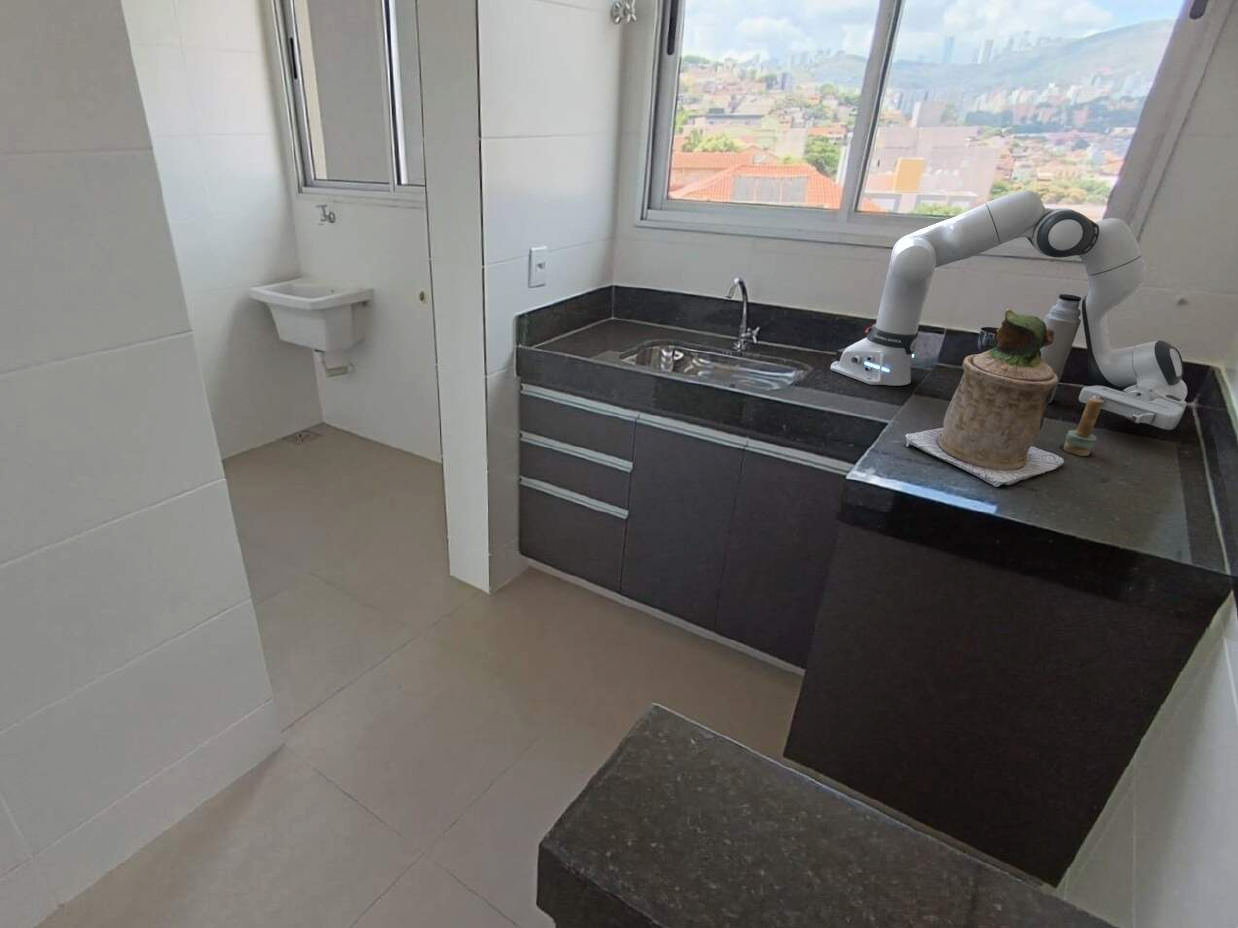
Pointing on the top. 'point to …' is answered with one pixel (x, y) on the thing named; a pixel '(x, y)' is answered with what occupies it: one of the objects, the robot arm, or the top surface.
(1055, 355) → the thermos bottle
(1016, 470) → the cookie jar
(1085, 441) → the brush
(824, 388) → the top surface
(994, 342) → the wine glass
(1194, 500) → the top surface
